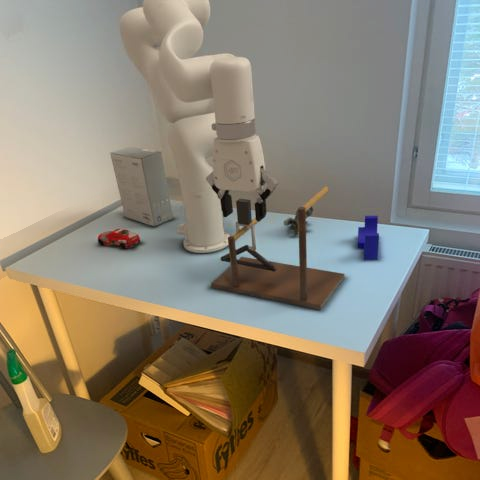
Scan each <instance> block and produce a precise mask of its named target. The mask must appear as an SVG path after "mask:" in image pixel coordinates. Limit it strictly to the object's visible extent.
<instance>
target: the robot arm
mask: <svg viewBox="0 0 480 480" xmlns="http://www.w3.org/2000/svg"><path fill="white" fill-rule="evenodd" d="M210 19H211V4H210V0H143V1H142V6H141V7H137V8H133V9H130V10H128V11H126V12H125V13H123V15H122V16H121V18H120V21H119V34H120V39H121V42H122V44H123V45H122V46H123V47H124V50H125V53H126V54H127V55H126V56H128V59H129V60H130V61H131V63H132V64H133V66H134V67H135V68H136V70H137V72H139V74H140V75H141V77H143V78H144V81H146V84H147V85H148V88H149V91H150V92H151V95H152V97H153V99H154V101H155V103H156V105H157V108H158V109H159V111H160V114H161V115H162V117H163V118H164V120H166V121H167V122H168V123H170V124H171V125H170V126H169V128H168V130H167V139H168V145H169V147H170V150H171V154H172V157H173V160H174V164H175V166H176V172H177V177H178V183H179V188H180V195H181V200H182V201H181V202H182V208H183V213H184V220H185V224H184V223H179V224H178V229H177V230H176V234H178V235H183V236H184V240H183V247H184V249H185V250H187V251H188V252H191V253H195V254H207V253H208V254H209V253H214V252H219V251H221V250H223V249H224V248H227V247H229V245H228V237H230V236H231V235H230V233H229V232H226V231H225V229H224V219H223V218H227V217H229V216H230V215H232V214H233V213H234V208H233V197H232V195H231V194H230V191H231V192H242V193H251V194H252V195H253V197H254V199H255V200H256V202H254V215H255V218H256V221H258V223H260V222H261V221H262V220H264V219H265V217H266V216H267V213H268V211H267V199H268V198H269V197H270V196H271V195H272V194H273V192H274V191H275V190H276V189H277V186H278V185H279V181H278V180H277V179H276V178H274V177H273V176H272V175H271V174H270V173H269V172H268V171H267V170H266V163H265V158H264V157H265V156H264V151H263V147H262V142H261V139H260V135H257V130H256V129H257V127H256V115H255V102H254V101H255V100H254V88H253V74H252V63H251V62H250V60H249V59H248V58H247V57H245V56H235V55H234V54H231V53H217V54H211V55H209V54H208V55H201V56H195V55H196V53H197V52H198V51H199V50H200V49H201V47H202V44H203V40H204V29H205V28H206V27H207V26H208V23H209V21H210ZM157 48H160V49H157ZM194 56H195V57H194ZM209 158H212V166H211V165H210V164H209V163H208V162H207V161H206V160H207V159H209ZM264 185H267V187H266V189H265V188H264Z"/></svg>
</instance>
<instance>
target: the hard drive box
mask: <svg viewBox="0 0 480 480" xmlns="http://www.w3.org/2000/svg"><path fill="white" fill-rule="evenodd" d="M162 153H163V152H162V151H160V150H155V149H148V148H140V147H135V146H134V147H133V146H128V147H124V148H121V149H118V150H114V151H110V153H109V154H110V159H111V162H112V163H111V164H112V166H113V172H114V176H115V179H116V184H117V188H118V193H119V197H120V201H121V205H122V210H123V214H124V217H125V218H128V219H130V220H133V221H136V222H140V223H142V224H144V225H148V226H152V227H156V226H159V225H162V224H163V223H166V222H168V221H170V220H173V219H174V215H173V210H172V204H171V197H170V192H169V187H168V181H167V176H166V171H165V165H164V159H163V154H162Z"/></svg>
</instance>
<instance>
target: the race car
mask: <svg viewBox="0 0 480 480" xmlns="http://www.w3.org/2000/svg"><path fill="white" fill-rule="evenodd" d="M97 242H98V244H99V245H100V246H110V247H115V248H116V247H117V248H121V249H122V250H125V249H130V248H133V247H135V246H136V245H138V244H140V243H141V238H140V236H139V234H138V233H136V232H133V231H131V230H130V229H129V230H128V229H125V228H116V229H114V230H106V231H103V232H100V234H98V236H97Z"/></svg>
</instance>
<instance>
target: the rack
mask: <svg viewBox="0 0 480 480" xmlns="http://www.w3.org/2000/svg"><path fill="white" fill-rule="evenodd" d="M329 189H330V188H329V187H327V186H324V187H322V189H320V190H319V191H318V192H317V193H316V194H315V195H313V196H312V197H311V198H310V199H309V200H308V201H307V202H306V203H304V204H302V206H299V207H297V210H298V230H299V231H298V259H299V261H298V262H299V264H298V265H296V264H295V265H293V264H289V263H288V264H287V263H283V262H276V261H271V260H268V261H269V262H270V263H271V264H273V265H274V266H275V267H276V271H275V272H273V271H270V270H265V269H260V268H255V267H250V266H245V265H240V264H237V260H243V261H248V262H253V263H258V264H262V263H261V262H260V261H259V260H257V259H256V258H251V257H245V256H241V257H240V258H237V256H236V250H237V248H236V241H237V240H238V239H239V238H241V237H242V236H243V235H244V234H246V233H247V232H248V231H250V230H251V227H244V226H242V227H241V228H240V230H239V231H238V232H236V231H235V233H234V234H232V235H230V237H228V252H229V254H230V262H229V263H230V266H229V267H228V268H226V270H225V271H223V273H221V274H220V275H219V276H218V277H217V278H215V279H214V280H213V281H212V282H211V283H210V286H211V288H212V289H215V290H221V291H225V292H226V291H227V292H230V293H231V292H232V293H236V294H240V295H244V296H245V295H246V296H250V297H256V298H260V299H265V300H270V301H274V302H279V303H284V304H289V305H294V306H299V307H303V308H309V309H313V310H317V311H321V310H322V309H323V307H325V305H326V304H327V303H328V301H329V300H330V298H331V297H332V295H334V293H335V292H336V290H337V289H338V288H339V286H340V285H341V283H343V281H344V280H345V273H342V272H335V271H331V270H325V269H318V268H312V267H308V266H307V265H308V262H307V261H308V259H307V258H308V257H307V254H308V253H307V231H306V228H307V224H306V222H307V218H306V211H307V210H309V209H310V208H311V207H312V208H313V206H315V204H316V203H318V202H319V201H320V200H321V199H322V198H323V197H325V195H327V194H328V192H329ZM258 223H259V222H258V221H256V217H254V218H252V223H250V224H254V225H255V226H256V225H257V224H258ZM263 265H264V264H263Z"/></svg>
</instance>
